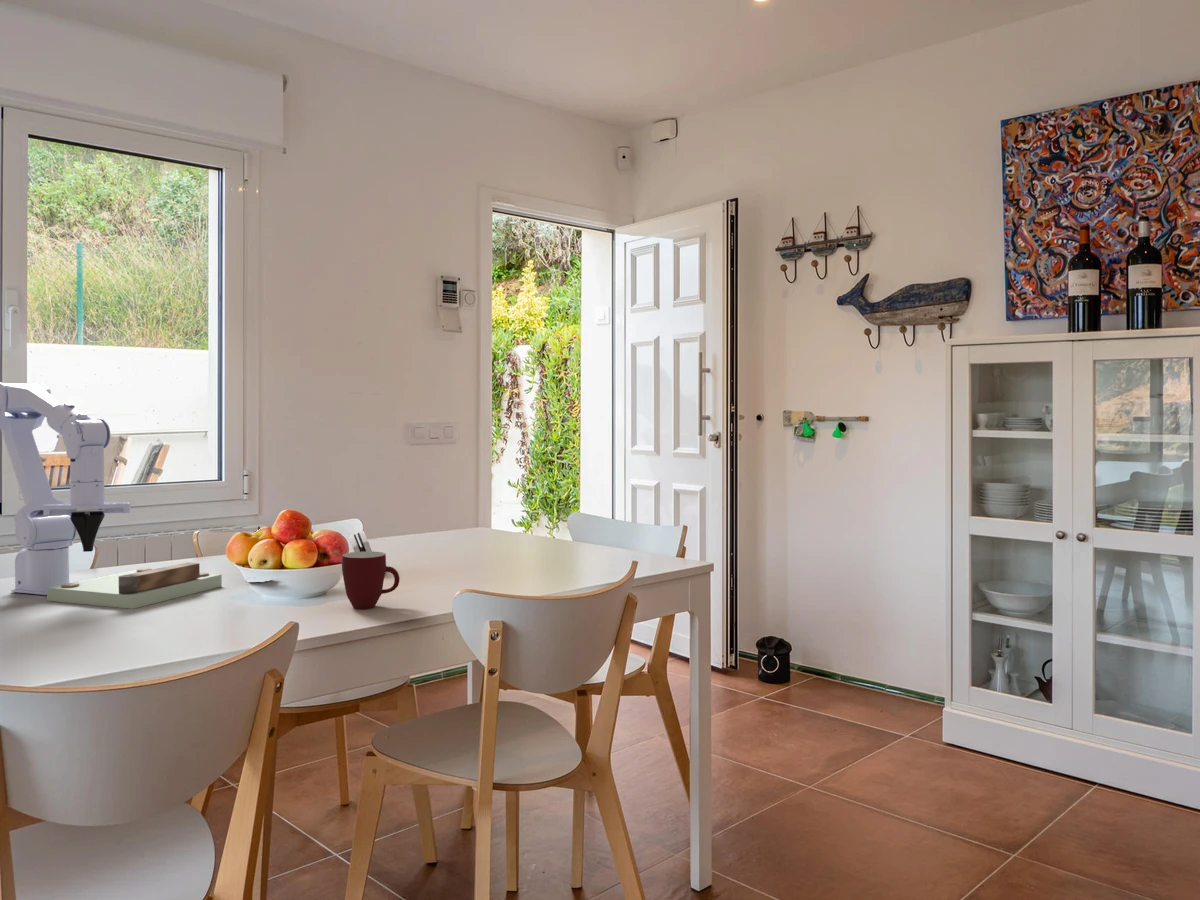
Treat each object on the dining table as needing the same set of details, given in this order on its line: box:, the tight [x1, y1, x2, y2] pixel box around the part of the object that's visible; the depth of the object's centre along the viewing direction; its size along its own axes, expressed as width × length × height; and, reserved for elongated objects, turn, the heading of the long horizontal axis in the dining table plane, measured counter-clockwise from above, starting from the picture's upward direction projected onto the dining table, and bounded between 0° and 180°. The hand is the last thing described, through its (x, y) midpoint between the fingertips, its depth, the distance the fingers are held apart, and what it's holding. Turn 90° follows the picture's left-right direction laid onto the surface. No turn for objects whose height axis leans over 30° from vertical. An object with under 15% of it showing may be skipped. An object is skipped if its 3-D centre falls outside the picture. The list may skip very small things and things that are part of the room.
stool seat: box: [46, 567, 223, 610], centre depth 177 cm, size 21×23×3 cm
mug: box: [341, 550, 401, 610], centre depth 166 cm, size 10×8×10 cm
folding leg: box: [119, 562, 201, 594], centre depth 171 cm, size 18×3×3 cm, turn 161°
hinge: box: [348, 530, 387, 575], centre depth 207 cm, size 17×5×10 cm, turn 19°
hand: (88, 550), depth 171 cm, fingers closed
